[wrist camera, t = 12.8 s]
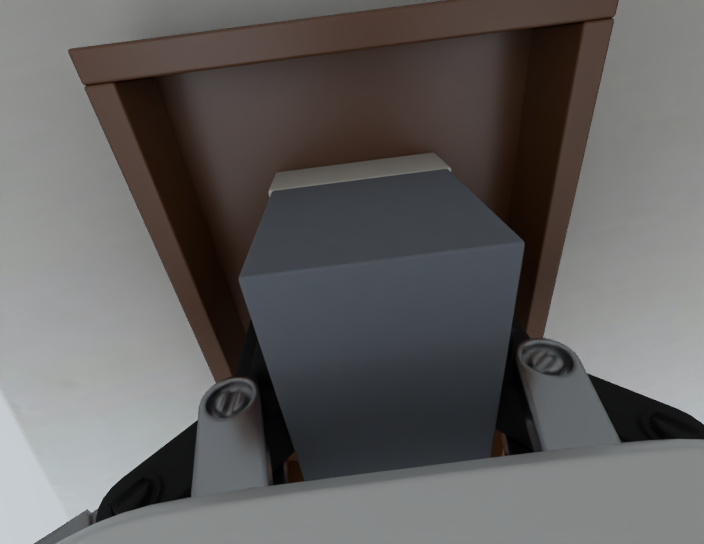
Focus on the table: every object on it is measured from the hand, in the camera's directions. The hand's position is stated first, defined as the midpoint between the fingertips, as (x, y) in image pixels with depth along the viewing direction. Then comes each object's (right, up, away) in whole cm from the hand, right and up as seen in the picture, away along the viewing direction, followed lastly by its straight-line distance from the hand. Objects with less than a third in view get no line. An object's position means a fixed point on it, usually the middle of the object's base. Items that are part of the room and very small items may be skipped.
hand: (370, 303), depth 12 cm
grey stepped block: (0, -1, +1) cm, 1 cm away
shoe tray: (0, 0, +2) cm, 2 cm away
